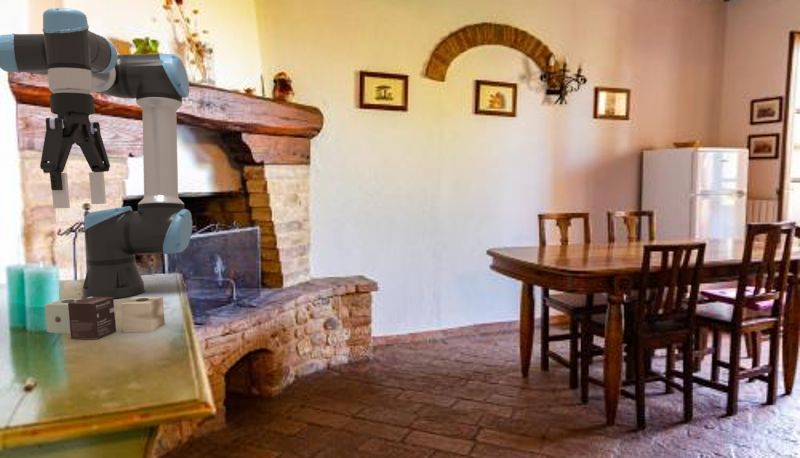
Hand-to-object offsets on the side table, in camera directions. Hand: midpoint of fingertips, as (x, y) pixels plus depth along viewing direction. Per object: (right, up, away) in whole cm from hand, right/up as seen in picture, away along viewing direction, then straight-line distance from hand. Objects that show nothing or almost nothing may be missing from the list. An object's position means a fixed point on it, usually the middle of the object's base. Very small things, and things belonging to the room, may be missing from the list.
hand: (81, 206), depth 118 cm
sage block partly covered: (-7, -26, +8) cm, 28 cm away
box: (+1, -26, +3) cm, 26 cm away
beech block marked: (+9, -25, +7) cm, 28 cm away
